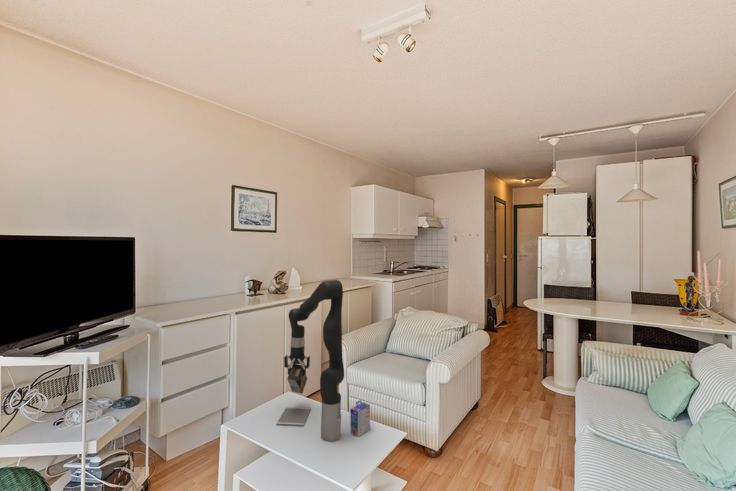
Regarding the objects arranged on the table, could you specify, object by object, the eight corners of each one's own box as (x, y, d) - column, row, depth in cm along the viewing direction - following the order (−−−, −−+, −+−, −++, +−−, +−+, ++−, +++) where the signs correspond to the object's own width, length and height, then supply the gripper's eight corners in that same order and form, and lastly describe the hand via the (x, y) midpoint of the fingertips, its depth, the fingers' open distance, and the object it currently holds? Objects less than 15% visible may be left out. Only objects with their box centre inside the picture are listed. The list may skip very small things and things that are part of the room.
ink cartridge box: (362, 425, 173) (362, 397, 173) (370, 429, 170) (371, 400, 170) (349, 433, 165) (350, 403, 166) (357, 437, 162) (358, 407, 162)
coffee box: (302, 394, 188) (298, 381, 176) (291, 391, 189) (286, 379, 177) (308, 378, 194) (304, 365, 183) (297, 376, 195) (292, 363, 184)
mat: (310, 409, 189) (310, 408, 189) (303, 426, 171) (303, 424, 171) (286, 408, 189) (286, 406, 189) (276, 425, 171) (276, 423, 171)
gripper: (282, 346, 179) (281, 377, 179) (309, 347, 179) (308, 378, 178) (286, 342, 187) (285, 372, 186) (312, 343, 186) (311, 373, 186)
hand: (296, 375), depth 182 cm, fingers closed on coffee box, 7 cm apart
